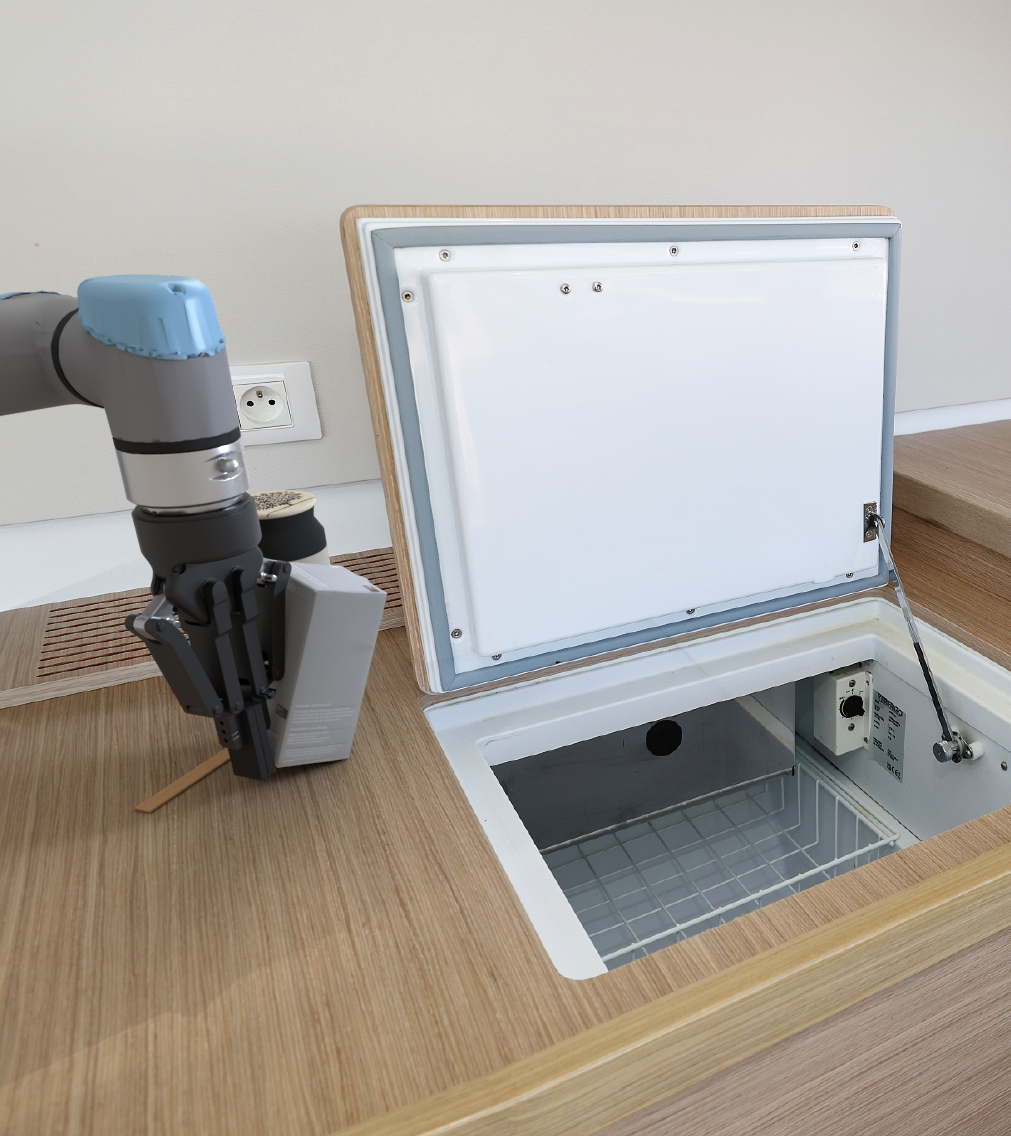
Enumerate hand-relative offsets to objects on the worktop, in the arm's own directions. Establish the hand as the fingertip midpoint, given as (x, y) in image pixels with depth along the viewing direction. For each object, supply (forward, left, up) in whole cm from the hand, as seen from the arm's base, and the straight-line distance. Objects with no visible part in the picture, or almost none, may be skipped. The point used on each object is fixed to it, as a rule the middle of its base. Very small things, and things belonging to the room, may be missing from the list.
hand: (254, 772), depth 77 cm
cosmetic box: (-1, +5, -1) cm, 5 cm away
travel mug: (-11, +18, -2) cm, 22 cm away
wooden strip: (-6, +4, -2) cm, 8 cm away
